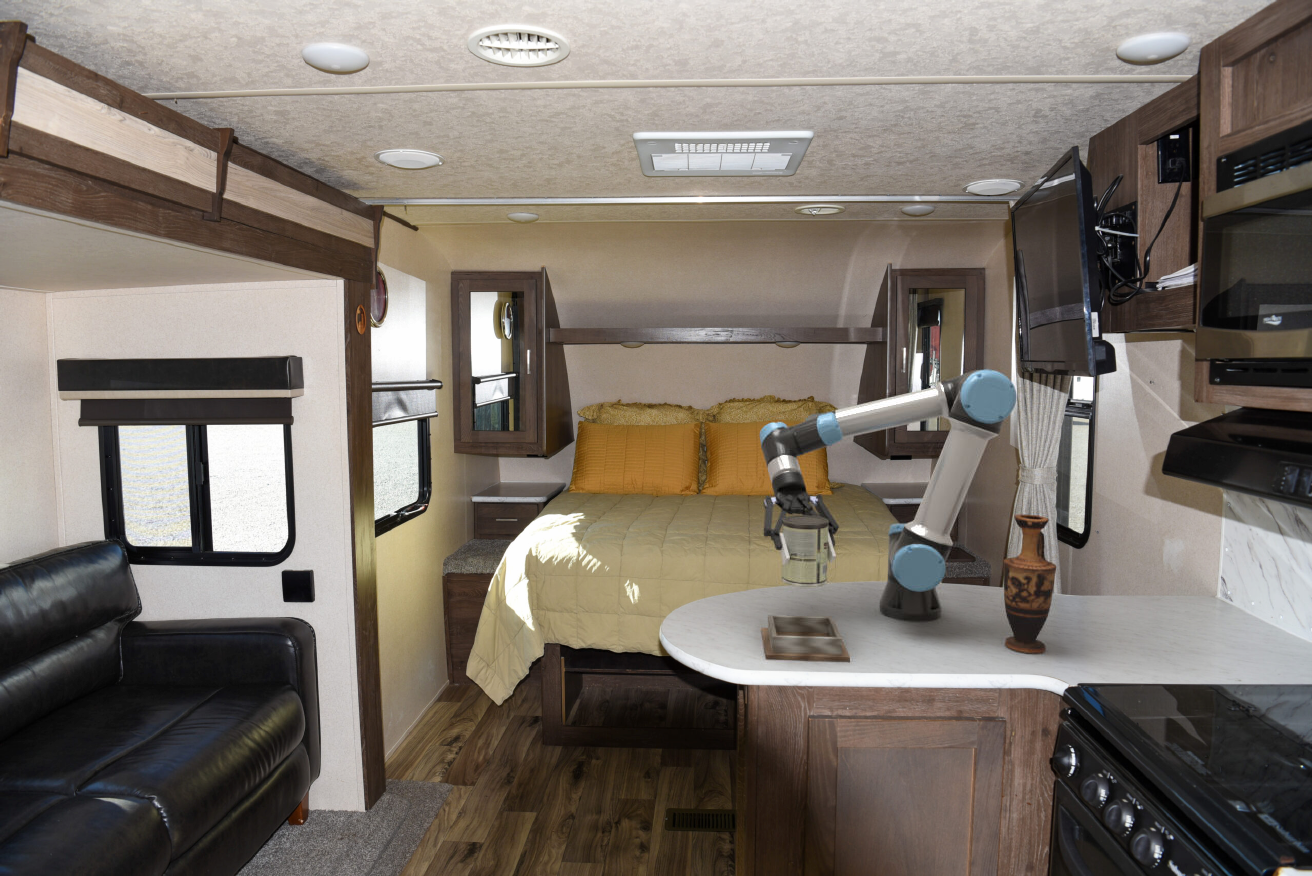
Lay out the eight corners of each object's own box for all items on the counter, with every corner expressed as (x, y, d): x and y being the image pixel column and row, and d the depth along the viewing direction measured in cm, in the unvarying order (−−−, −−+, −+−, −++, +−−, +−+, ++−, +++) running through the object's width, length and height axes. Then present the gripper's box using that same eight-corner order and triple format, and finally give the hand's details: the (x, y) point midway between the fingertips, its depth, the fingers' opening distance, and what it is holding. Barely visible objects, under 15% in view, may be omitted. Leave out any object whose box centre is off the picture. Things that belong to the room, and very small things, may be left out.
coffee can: (779, 574, 188) (781, 514, 187) (824, 575, 187) (826, 515, 186) (782, 586, 178) (783, 523, 177) (829, 588, 177) (831, 524, 176)
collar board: (837, 633, 192) (838, 615, 192) (849, 661, 174) (850, 641, 174) (761, 631, 194) (761, 613, 193) (765, 659, 176) (766, 639, 175)
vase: (1032, 659, 176) (1040, 523, 173) (988, 644, 185) (995, 515, 182) (1061, 650, 182) (1069, 518, 179) (1017, 636, 191) (1024, 510, 188)
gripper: (826, 487, 198) (852, 566, 184) (737, 489, 194) (756, 571, 180) (836, 468, 192) (863, 549, 178) (744, 470, 188) (764, 553, 174)
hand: (809, 560), depth 179 cm, fingers closed on coffee can, 10 cm apart
